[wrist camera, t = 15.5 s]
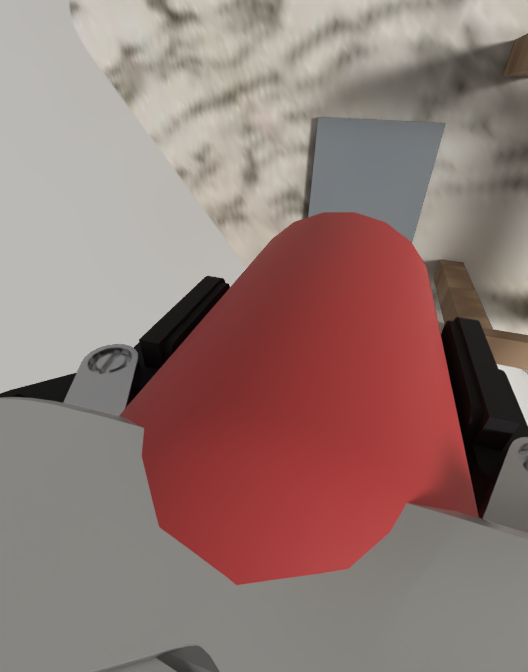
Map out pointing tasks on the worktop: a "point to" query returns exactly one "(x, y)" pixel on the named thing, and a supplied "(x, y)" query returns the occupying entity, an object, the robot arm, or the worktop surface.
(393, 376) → the beer can
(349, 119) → the coaster
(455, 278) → the frame
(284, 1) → the worktop surface
